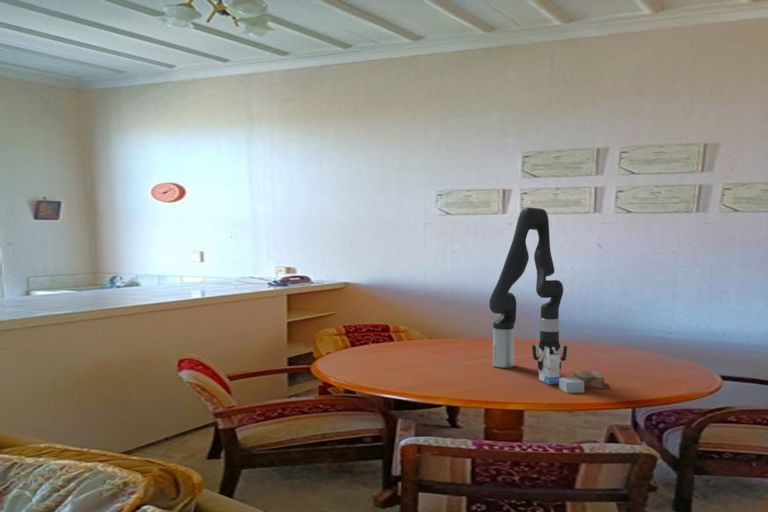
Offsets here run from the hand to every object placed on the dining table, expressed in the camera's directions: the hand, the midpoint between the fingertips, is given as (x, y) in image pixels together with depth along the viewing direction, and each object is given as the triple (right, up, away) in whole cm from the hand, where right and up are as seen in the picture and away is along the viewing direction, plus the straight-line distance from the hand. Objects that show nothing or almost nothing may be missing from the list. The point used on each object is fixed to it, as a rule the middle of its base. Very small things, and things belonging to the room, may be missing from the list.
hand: (549, 370), depth 247 cm
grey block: (+5, -5, -13) cm, 15 cm away
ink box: (0, -5, 0) cm, 5 cm away
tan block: (+14, -5, -4) cm, 16 cm away
